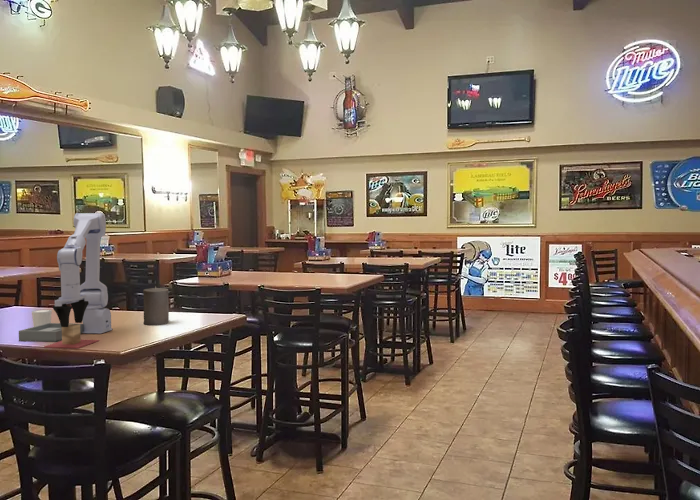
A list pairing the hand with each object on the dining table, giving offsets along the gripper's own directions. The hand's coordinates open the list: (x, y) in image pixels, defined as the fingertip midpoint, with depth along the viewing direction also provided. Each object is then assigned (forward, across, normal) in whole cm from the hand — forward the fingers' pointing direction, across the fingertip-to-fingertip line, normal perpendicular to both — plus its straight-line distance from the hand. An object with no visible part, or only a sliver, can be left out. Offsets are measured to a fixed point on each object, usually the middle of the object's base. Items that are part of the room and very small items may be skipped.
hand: (71, 324), depth 200 cm
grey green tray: (+7, -11, -15) cm, 20 cm away
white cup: (+7, -25, -29) cm, 39 cm away
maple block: (+6, 0, 0) cm, 6 cm away
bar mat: (+6, 0, 0) cm, 7 cm away
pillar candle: (+7, -42, +9) cm, 43 cm away
